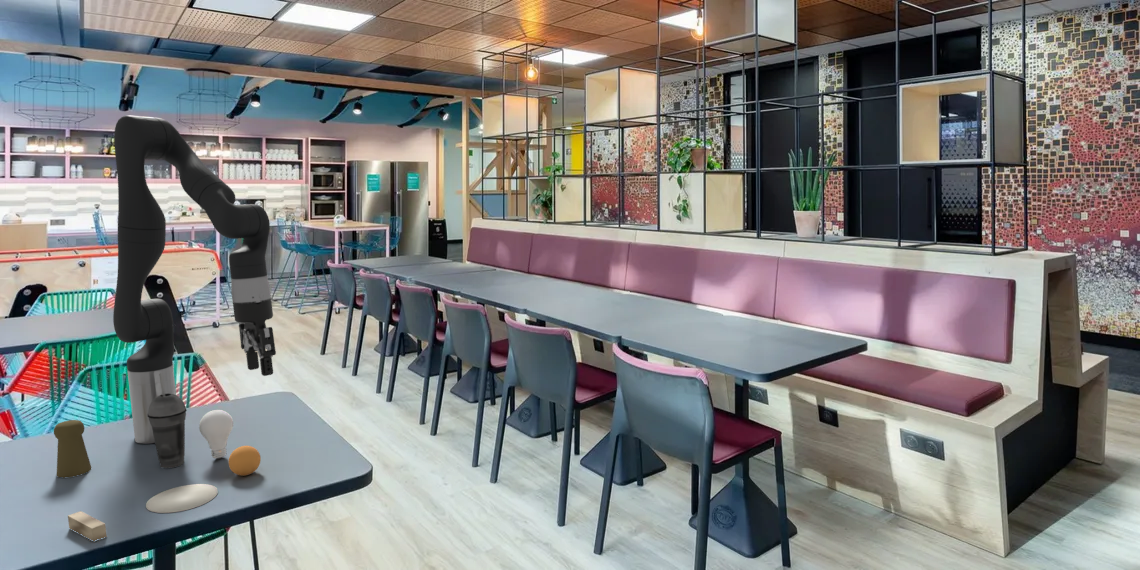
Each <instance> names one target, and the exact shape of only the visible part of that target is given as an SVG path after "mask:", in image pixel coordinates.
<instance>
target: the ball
mask: <svg viewBox="0 0 1140 570" xmlns="http://www.w3.org/2000/svg"><path fill="white" fill-rule="evenodd" d="M260 464H261V454H260V452H259V451H258V449H257V448H255V447H254V446H252V445H242V446H239V447H237V448H235V449H233V450H232V452H231V454H230V455H229V457H228V466H229V469H230V470H231V472H232V473H234V475H237V476H241V477H243V476H244V477H245V476H249V475H251V474H253V473H254V472H255V471H256V470H258V468H259V467H260Z"/></svg>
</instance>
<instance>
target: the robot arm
mask: <svg viewBox="0 0 1140 570" xmlns="http://www.w3.org/2000/svg"><path fill="white" fill-rule="evenodd" d="M113 135H114V136H113V138H114V140H113V141H114V143H113V144H114V156H115V166H116V174H117V192H118V195H117V198H118V200H117V201H118V203H117V204H118V208H117V209H118V213H117V277H116V279H117V280H116V287H115V295H114V296H115V297H114V305H113V314H112V315H113V316H112V317H113V318H112V321H113V328H114V332H115V335H116V337H117V338H118V339H119V340H120V341H122V342H123V343H126V344H127V343H129V344H131V343H136V342H142V341H145V343H144V345H142V347H141V348H140V349H139V350H137V351H136V352H134V353H133V354H131V355H129V357H128V358H127V360H126V368H127V369H126V370H127V377H128V378H127V379H128V386H129V395H130V405H131V406H130V407H131V415H132V423H133V434H134V441H135V443H137V444H141V445H143V444H144V445H145V444H149V445H150V444H155V440H154V435H153V430H152V426H151V424H150V421H149V417H148V409H149V406H150V404H151V402H152V401H153V400H154V399H155V398H156V397H158V396H160V395H162V389H161V383H160V376H159V374H160V373H162V378H163V384H164V390H165V394H168V393H169V394H174V395H177V393H176V392H177V391H176V382H175V374H174V373H175V372H174V364H173V362H174V361H173V358H174V354H175V343H174V341H175V340H174V339H175V337H174V318H173V313H172V310H171V308H170V306H169V304H168V302H167V301H165V300H164V299H161V298H151V299H143V300H142V295H143V289H144V286H145V283H146V280H147V279H148V277H149V275H150V274H151V272H152V271H153V269H154V268H155V266H156V265H157V264H158V262H159V260H160V258H161V256H162V254H163V253H164V250H165V248H166V247H165V246H166V235H167V234H166V233H167V232H166V229H167V227H166V225H167V222H166V217H165V213H164V211H163V210H162V208H161V206H160V204H159V203H158V202H157V200H156V198H155V196H154V195H153V194H152V192H151V190H150V188H149V186H148V184H147V179H146V171H145V160H163V161H165V162H167V163H169V164H170V165H171V166H173V167H174V168H175V169H176V170H177V171H178V175H179V181H180V185H181V187H182V189H183V190H184V193H186V195H187V196H188V197H189V198H190V199H192V200H193V202H195V203H196V204H197V205H198V206H199V207H200V208H201V209H203V210H204V212H205V213H206V215H207V217H208V219H209V220H210V222H211V224H212V225H213V227H214V230H216V232H218V233H219V234H220V235H222V236H223V237H225V238H228V239H231V240H235V239H242V242H241V243H242V244H241V246H240V248H238V249H236V250H234V251H231V253H230V254H229V256H228V264H229V272H230V279H231V280H230V281H231V282H230V283H231V285H230V288H231V289H230V290H231V300H232V307H233V308H232V309H233V314H234V315H233V316H234V321H235V322H236V323H238V329H239V339H240V348H241V350H243V351H244V353H245V357H246V364H247V365H246V366H247V369H248V370H250V371H253V370H258V369H259V368H260V372H261V376H263V377H266V376H271V375H273V374H274V367H273V359H272V357H273V356H276V355H277V351H276V346H275V345H276V343H275V338H274V330H273V327H272V326H269V327H267V325H266V321H267V320H270V319H272V318H273V316H274V312H273V303H272V294H271V287H270V282H269V279H268V271H267V263H266V262H267V261H266V254H267V253H266V252H267V248H268V241H269V236H270V235H269V234H270V228H271V226H270V224H271V223H270V218H269V216H268V215H269V214H267V211H266V210H265V209H264V208H263V206H261V205H259V204H254V203H250V204H247V203H245V204H235V202H236V194H235V192H234V191H233V189H232V188H231V187H230V186H229V185H228V184H227V183H225V181H223V180H222V179H221V178H219V177H218V176H217V175H216V174H215V173H214V172H213V171H212V170H211V169H210V168H208V167H207V165H206V164H205V163H204V162H203V161H202V160H201V159H200V157H199V156H198V154H196V153H195V151H194V150H193V149H192V148H191V146H190V145H189V144H188V143H187V141H186V139H184V137H183V136H182V135H181V134H180V132H179V131H178V129H176V127H175V126H173V124H171V122H169V121H168V120H166V119H164V118H161V117H153V116H143V115H142V116H141V115H130V114H129V115H124V116H121V117H120V118H119V119H118V120H117V122H116V124H115V127H114V133H113Z"/></svg>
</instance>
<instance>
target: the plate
mask: <svg viewBox="0 0 1140 570" xmlns="http://www.w3.org/2000/svg"><path fill="white" fill-rule="evenodd" d="M218 492H219V491H218V488H217V487H216V486H214V485H211V484H207V483H206V484H205V483H196V484H194V483H193V484H187V485H181V486H176V487H173V488H170V489H167V490H164V491H162V492H159V493H156V495H154V496H152V497H151V498H149V499H148V500H147V501H146V503H145V507H146V509H147V510H148V511H149V512H152V513H158V514H168V513H169V514H171V513H179V512H184V511H189V510H192V509H194V508H198V507H200V506H203V505H205V504H207V503H209V502H211V501H212V500H213V499H214V498H216V497H217V495H218Z"/></svg>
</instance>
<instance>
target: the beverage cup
mask: <svg viewBox="0 0 1140 570" xmlns="http://www.w3.org/2000/svg"><path fill="white" fill-rule="evenodd" d="M159 376H160V383H161V389H162V395H160V396H158V397H156V398H155V399H154V400H153V401H152V402H151V404H150V406H149V409H148V417H149V421H150V424H151V426H152V430H153V435H154V440H155V443H154V444H155V449H156V454H157V457H158V458H157V459H158V461H159V465H160V468H161V469H173V468H177V467H179V466H182V465H184V463H185V456H186V455H185V454H186V453H185V450H186V449H185V448H186V447H185V444H186V442H185V441H186V439H185V438H186V437H185V436H186V434H185V432H186V431H185V429H186V428H185V425H186V424H185V422H186V421H185V420H186V418H187V413H186V412H187V411H188V410H187V408H186V405H185V402H184V400H183V399H182V398H181V397H180V396H178V395H177V394H176V395H174V394H169V393H168V394H165V390H164V384H163V378H162V373H160V374H159Z"/></svg>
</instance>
